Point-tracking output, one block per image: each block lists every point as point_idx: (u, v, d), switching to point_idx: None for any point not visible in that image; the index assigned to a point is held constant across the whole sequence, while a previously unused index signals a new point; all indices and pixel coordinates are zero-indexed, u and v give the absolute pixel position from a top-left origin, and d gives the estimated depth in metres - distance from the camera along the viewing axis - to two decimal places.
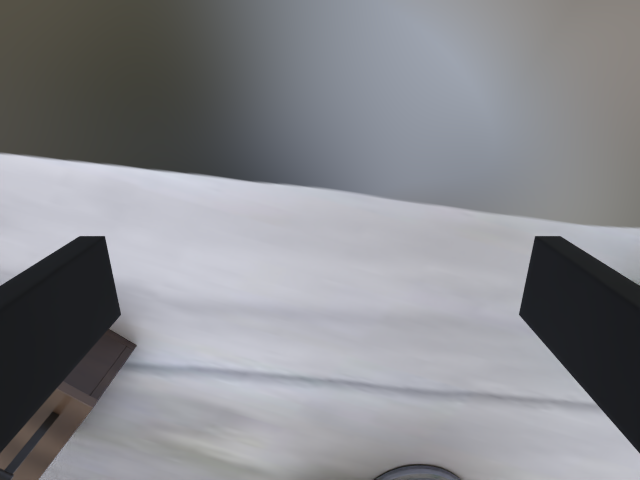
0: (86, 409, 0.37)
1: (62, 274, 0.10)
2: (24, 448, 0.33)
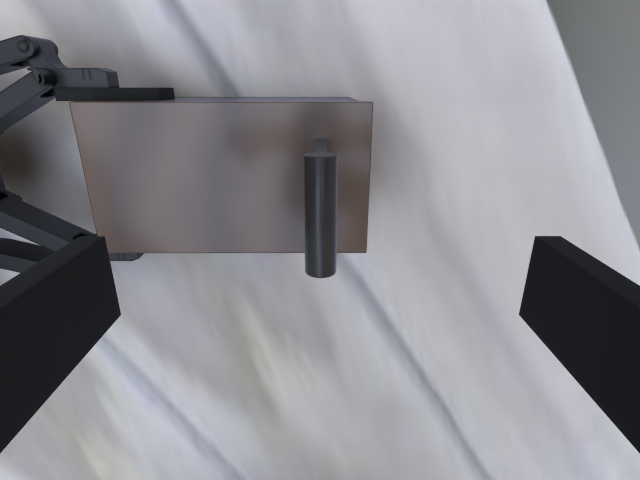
0: (358, 247, 0.26)
1: (62, 274, 0.10)
2: None
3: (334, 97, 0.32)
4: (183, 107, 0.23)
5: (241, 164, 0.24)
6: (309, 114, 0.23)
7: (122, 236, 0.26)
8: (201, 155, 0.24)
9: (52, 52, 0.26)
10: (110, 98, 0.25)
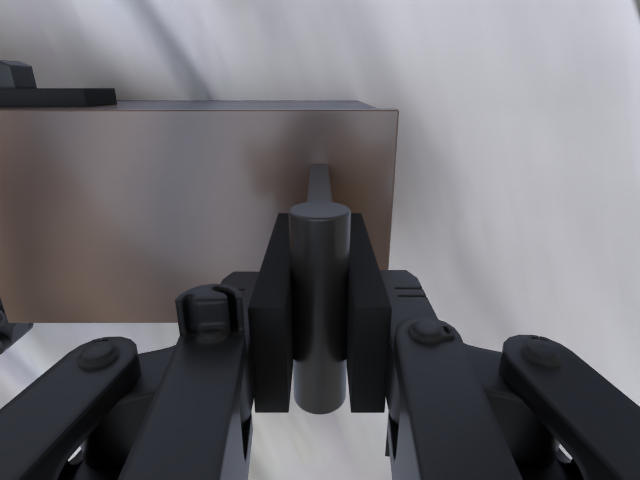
0: None
1: None
2: None
3: None
4: (112, 118, 0.15)
5: (203, 201, 0.16)
6: (303, 128, 0.15)
7: (36, 300, 0.18)
8: (143, 188, 0.16)
9: None
10: (15, 104, 0.17)
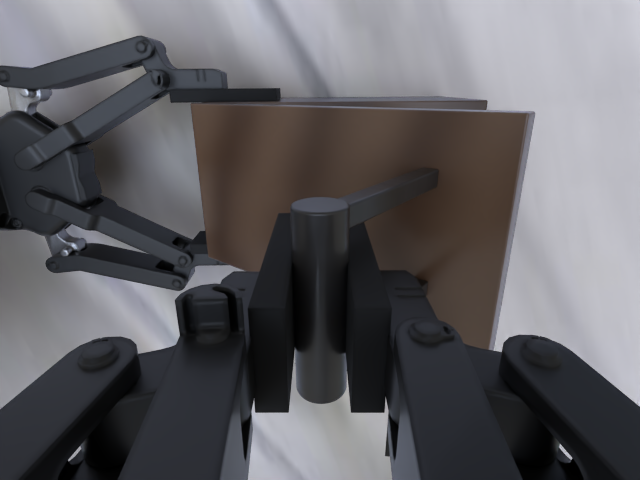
0: None
1: None
2: None
3: None
4: (274, 112, 0.19)
5: (328, 190, 0.18)
6: (417, 129, 0.15)
7: (223, 245, 0.24)
8: (288, 172, 0.19)
9: (163, 53, 0.25)
10: (226, 99, 0.25)
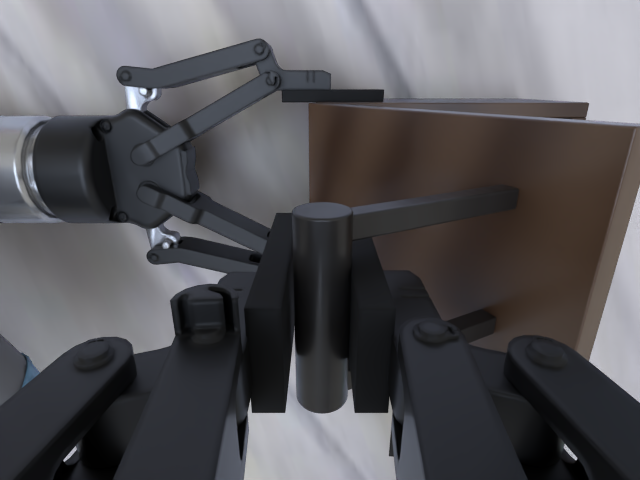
0: None
1: None
2: None
3: None
4: (370, 114, 0.19)
5: (408, 198, 0.17)
6: (501, 139, 0.13)
7: None
8: (377, 175, 0.19)
9: (273, 55, 0.26)
10: (335, 99, 0.26)
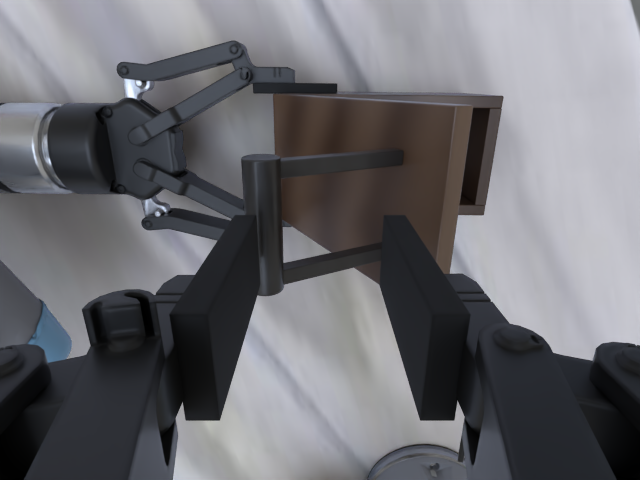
0: None
1: (245, 243, 0.12)
2: (326, 263, 0.18)
3: None
4: (316, 101, 0.24)
5: None
6: (392, 117, 0.18)
7: (284, 207, 0.31)
8: (321, 149, 0.24)
9: (247, 54, 0.32)
10: (297, 91, 0.31)
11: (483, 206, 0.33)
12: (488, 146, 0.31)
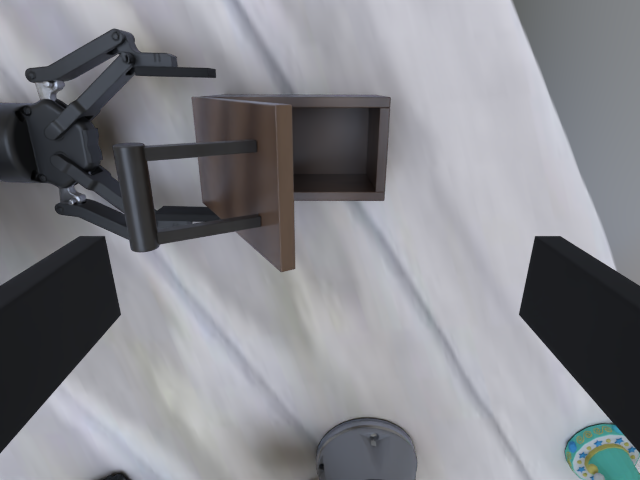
0: (276, 263, 0.24)
1: (62, 274, 0.10)
2: (195, 229, 0.23)
3: None
4: (213, 103, 0.29)
5: (230, 154, 0.28)
6: (249, 114, 0.23)
7: (206, 194, 0.36)
8: None
9: (132, 41, 0.36)
10: (173, 74, 0.36)
11: (383, 193, 0.38)
12: (382, 140, 0.36)
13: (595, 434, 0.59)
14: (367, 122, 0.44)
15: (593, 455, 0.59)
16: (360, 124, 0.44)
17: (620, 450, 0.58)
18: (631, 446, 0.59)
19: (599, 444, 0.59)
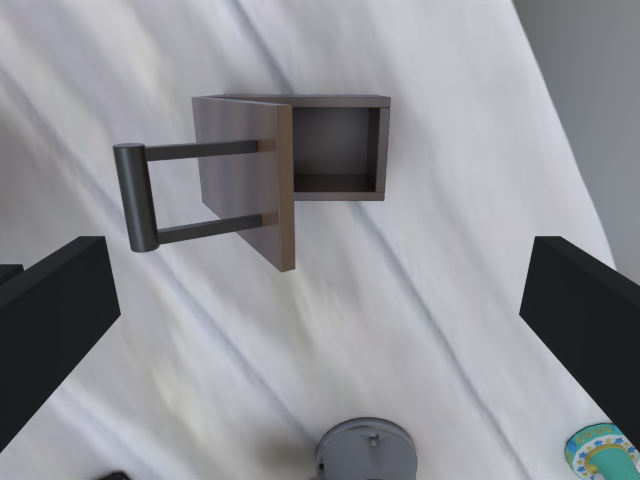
0: (276, 263, 0.24)
1: (62, 274, 0.10)
2: (195, 229, 0.23)
3: None
4: (213, 103, 0.29)
5: (230, 154, 0.28)
6: (249, 115, 0.23)
7: (206, 194, 0.36)
8: None
9: None
10: None
11: (382, 193, 0.38)
12: (382, 140, 0.36)
13: (595, 434, 0.59)
14: (367, 122, 0.44)
15: (593, 455, 0.59)
16: (360, 124, 0.44)
17: (620, 450, 0.58)
18: (631, 446, 0.59)
19: (599, 444, 0.59)
